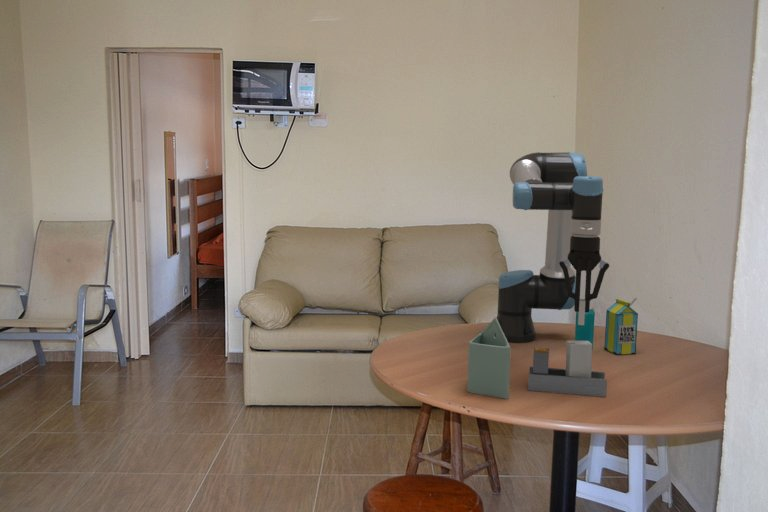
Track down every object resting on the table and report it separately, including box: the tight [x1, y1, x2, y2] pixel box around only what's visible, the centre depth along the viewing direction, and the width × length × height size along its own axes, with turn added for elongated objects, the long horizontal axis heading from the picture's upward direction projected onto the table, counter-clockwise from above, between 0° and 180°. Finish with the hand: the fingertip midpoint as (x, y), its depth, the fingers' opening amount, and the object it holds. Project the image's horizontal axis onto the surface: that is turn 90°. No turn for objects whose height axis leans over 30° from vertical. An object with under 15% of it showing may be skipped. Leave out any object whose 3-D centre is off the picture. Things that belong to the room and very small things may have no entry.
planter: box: [466, 317, 511, 400], centre depth 190 cm, size 16×8×20 cm, turn 20°
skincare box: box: [565, 340, 593, 378], centre depth 191 cm, size 6×4×12 cm
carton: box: [603, 297, 639, 356], centre depth 231 cm, size 7×8×18 cm
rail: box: [527, 346, 608, 398], centre depth 192 cm, size 8×20×11 cm, turn 77°
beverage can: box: [574, 306, 596, 351], centre depth 229 cm, size 6×6×15 cm
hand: (581, 323), depth 190 cm, fingers closed
